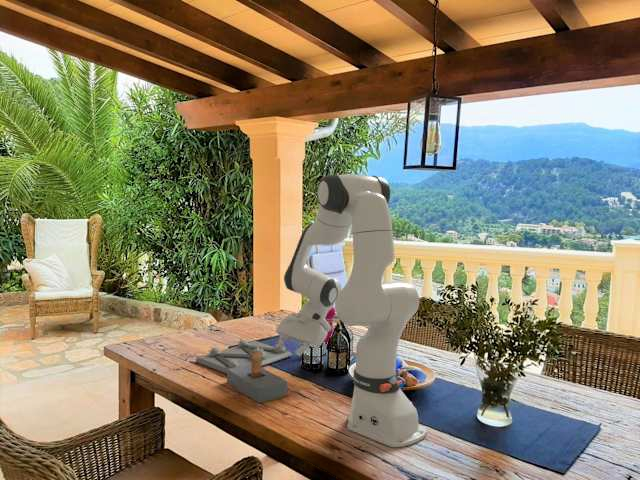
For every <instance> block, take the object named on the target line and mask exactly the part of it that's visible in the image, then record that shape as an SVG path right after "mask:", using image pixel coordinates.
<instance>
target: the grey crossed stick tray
mask: <svg viewBox="0 0 640 480" xmlns="http://www.w3.org/2000/svg"><path fill="white" fill-rule="evenodd" d="M210 349H211V350H210ZM210 349H209V351H208V354H204V355H201V356H198V357H197V358H196V359H195V362H196V364H197V363H198V364H200V365H202V366H205V367H207V368H210V369H212V370H215V371H217V372H220V373H222V374H225V375H227V369H230V368H234V367H239V366H243V365H248V364H252V352H253V351H261V352H262V368H264V367H265V366H268V365H271V364H273V363H276V362H280V361H282V359H283V360H285V358H286V359H289V358H291V357H292V355H293V354H292V352H291V351H289V350H287V346H286V345H285V346H284V347H283V349H280V348H278V347H277V344H276V343H275V344H273V346H272V345H270V344H267V343H264V342H260V341H257V340H253V341H250V342H249V341H248V339H247V338H244V337H243V338H242V339H240V340H239V341H238V345H237V346H232V347H229V348H226V349H222V348H221V349H220V348H219V346H217V345H214V347H213V346H211V347H210ZM288 357H289V358H288ZM279 360H280V361H279Z"/></svg>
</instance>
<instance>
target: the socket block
mask: <svg viewBox="0 0 640 480" xmlns="http://www.w3.org/2000/svg"><path fill="white" fill-rule="evenodd" d="M251 371H252V364H248V365H243V366H239V367H234V368H230V369H227V374H226V379H227V380H226V383H227V384H229V385H230V386H232V387H233V388H235V389H236V390H238V391H240V392H242V393H243V394H244V395H246V396H247V397H248V398H250V399H252V400H254V401H255V402H256V403H258V404H261V403H265V402H269V401H273V400H276V399H280V398H284V397H286V396H288V381H287V380H285V379H283V378H281V377H280V376H278V375H276V374H274V373H272V372H271V371H269V370H267V369H265V368H264V367H262V377H259V378H255V379H253V378H252V377H251Z"/></svg>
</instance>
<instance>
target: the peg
mask: <svg viewBox="0 0 640 480" xmlns="http://www.w3.org/2000/svg"><path fill="white" fill-rule="evenodd" d="M262 368H263V367H262V352H261V351H253V352H252V371H251V377H252V378H253V379H255V378H259V377H262Z"/></svg>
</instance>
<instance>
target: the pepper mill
mask: <svg viewBox="0 0 640 480" xmlns="http://www.w3.org/2000/svg"><path fill="white" fill-rule="evenodd" d="M335 315H336V309H335V306H333V307H332V309H330V310H329V311H328V313H327V315H326V318H325V320H326V321H327V322H328V323H329V325H330V326H331V330H330V331H329V332H327V337H326V338H325V340H324V342H325V344H327V342H328V340H329V338H330V336H331V334H332V332H333V331H334V328H333V322H334V321H335V318H334V317H335Z"/></svg>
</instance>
